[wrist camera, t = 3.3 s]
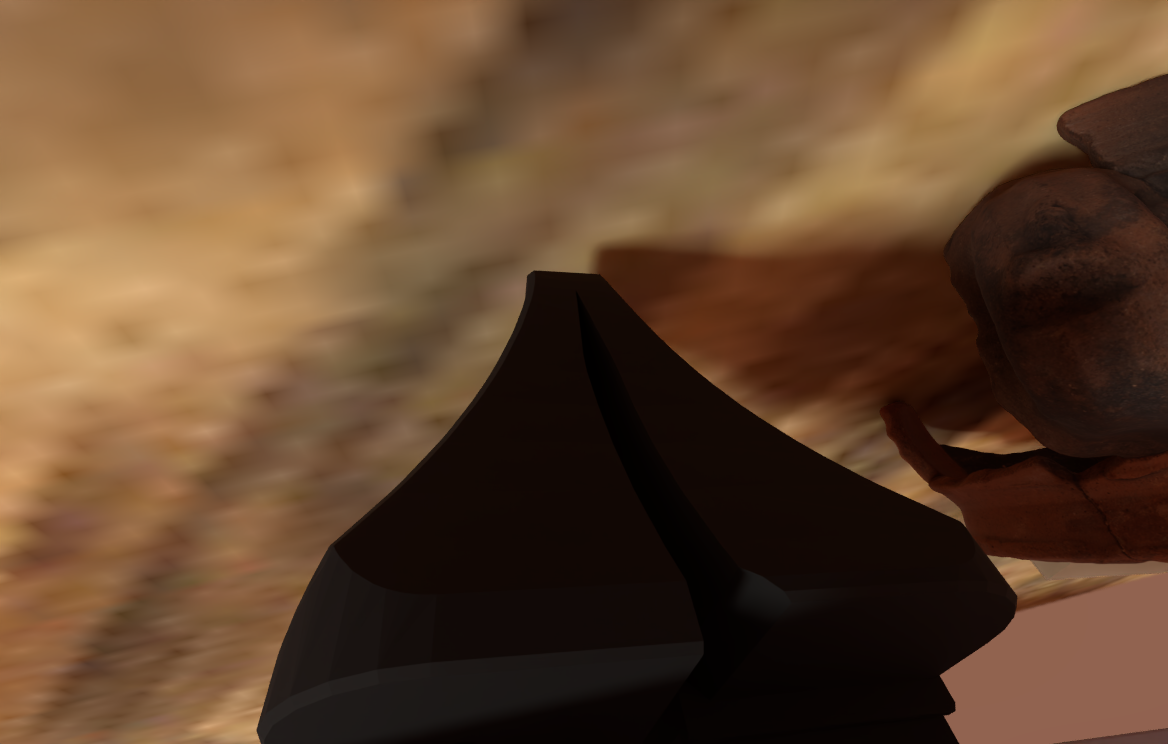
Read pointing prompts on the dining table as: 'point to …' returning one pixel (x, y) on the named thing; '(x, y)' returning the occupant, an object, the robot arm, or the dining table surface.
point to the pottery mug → (1069, 347)
